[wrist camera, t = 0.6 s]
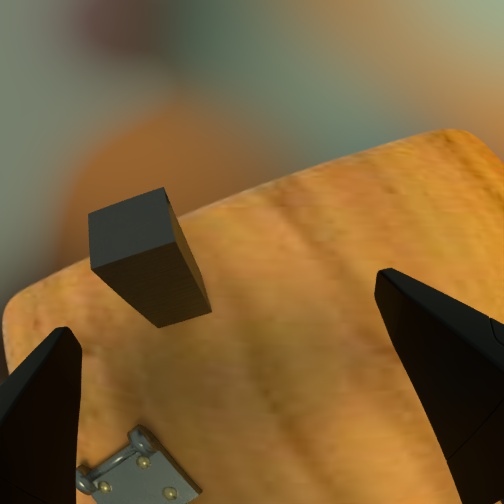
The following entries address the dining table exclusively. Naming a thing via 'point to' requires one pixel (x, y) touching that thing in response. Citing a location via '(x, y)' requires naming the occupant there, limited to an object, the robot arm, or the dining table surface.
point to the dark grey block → (147, 259)
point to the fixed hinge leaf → (138, 475)
